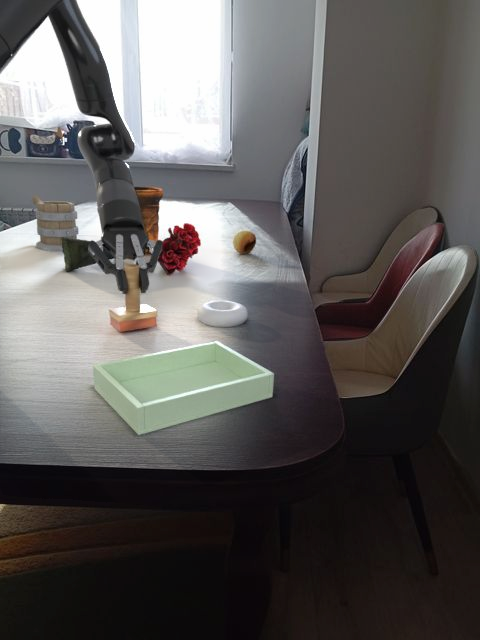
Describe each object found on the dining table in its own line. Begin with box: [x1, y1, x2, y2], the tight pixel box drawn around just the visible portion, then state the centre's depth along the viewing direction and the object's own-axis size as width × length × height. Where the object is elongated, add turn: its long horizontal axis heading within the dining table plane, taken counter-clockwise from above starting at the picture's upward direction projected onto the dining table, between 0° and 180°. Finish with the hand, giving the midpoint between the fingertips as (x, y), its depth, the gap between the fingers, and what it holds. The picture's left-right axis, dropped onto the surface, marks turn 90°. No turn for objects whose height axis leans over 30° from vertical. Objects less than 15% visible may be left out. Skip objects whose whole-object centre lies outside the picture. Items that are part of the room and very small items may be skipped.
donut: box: [196, 300, 249, 328], centre depth 101 cm, size 10×4×10 cm
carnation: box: [61, 222, 202, 276], centre depth 136 cm, size 16×18×35 cm
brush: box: [108, 263, 158, 332], centre depth 92 cm, size 7×5×11 cm, turn 127°
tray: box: [92, 340, 275, 436], centre depth 70 cm, size 20×15×4 cm
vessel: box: [134, 185, 164, 256], centre depth 160 cm, size 14×14×20 cm
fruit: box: [232, 229, 257, 256], centre depth 169 cm, size 8×8×8 cm
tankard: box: [30, 195, 79, 252], centre depth 164 cm, size 20×13×15 cm, turn 49°
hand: (134, 291), depth 89 cm, fingers closed on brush, 2 cm apart
